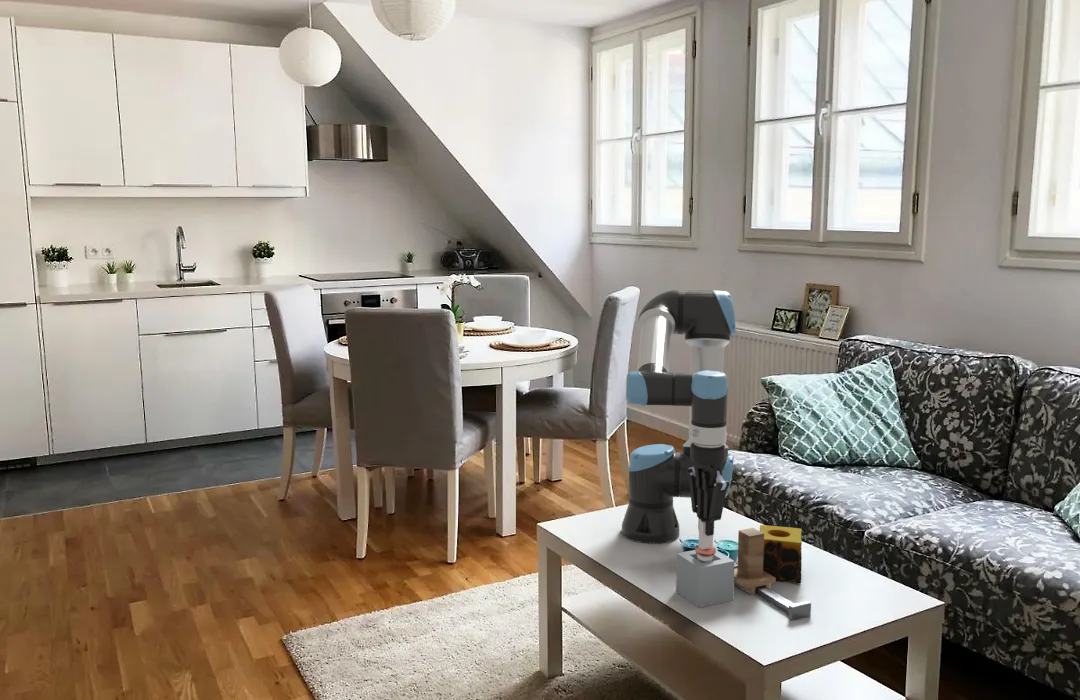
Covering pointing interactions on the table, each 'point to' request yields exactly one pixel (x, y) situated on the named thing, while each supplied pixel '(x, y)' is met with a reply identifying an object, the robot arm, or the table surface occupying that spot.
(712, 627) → the table surface
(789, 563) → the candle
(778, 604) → the rail
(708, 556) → the plunger
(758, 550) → the carriage
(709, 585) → the housing
